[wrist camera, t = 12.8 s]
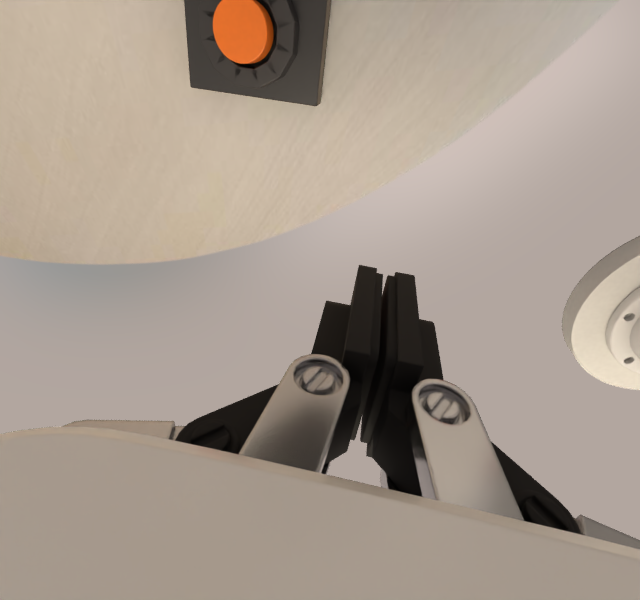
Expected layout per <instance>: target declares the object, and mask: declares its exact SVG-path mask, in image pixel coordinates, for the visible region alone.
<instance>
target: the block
mask: <svg viewBox="0 0 640 600" xmlns="http://www.w3.org/2000/svg"><path fill="white" fill-rule="evenodd" d="M221 1H222V0H184V3H185V17H186V30H187V44H188V58H189V71H190V85H191V87H192V88H198V89H205V90H212V91H218V92H225V93H232V94H238V95H245V96H252V97H258V98H265V99H272V100H278V101H285V102H292V103H298V104H305V105H312V106H317V105H318V104H320V102H321V93H322V84H323V74H324V64H325V55H326V45H327V36H328V26H329V17H330V7H331V0H256V1H258V2H259V3H260V4H262V6H263V7H264V8H265V9H266V10H267V12H268V14H269V16H270V18H271V21H272V25H273V32H274V36H273V43H272V46H271V49H270V51H269V53H268V54H267V55H266V57H265V58H264V59H262V60H261V61H259V62H257V63H251V64H240V63H236V62H233V61H232V60H230V59H229V58H227V57H226V56H225V55H224V54H223V53H222V51H221V50H220V48H219V47H218V45H217V43H216V40H215V37H214V32H213V17H214V13H215V10H216V8H217V6H218V4H219V3H220V2H221Z"/></svg>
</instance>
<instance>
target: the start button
mask: <svg viewBox="0 0 640 600" xmlns="http://www.w3.org/2000/svg"><path fill="white" fill-rule="evenodd" d="M213 32H214V37H215V40H216V43H217V45H218V47H219V48H220V50H221V51H222V53H223V54H224V55H225V56H226V57H227V58H229V59H230V60H232V61H233V62H236V63H240V64H251V63H257V62H259V61H261V60H262V59H264V58H265V57H266V55H267V54H268V53H269V51H270V49H271V46H272V43H273V36H274V32H273V25H272V21H271V18H270V16H269V14H268V12H267V10H266V9H265V8H264V7H263V6H262V4H260V3H259V2H258V1H256V0H222V1H221V2H220V3H219V4H218V6H217V8H216V10H215V13H214V17H213Z"/></svg>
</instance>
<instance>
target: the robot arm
mask: <svg viewBox="0 0 640 600" xmlns="http://www.w3.org/2000/svg"><path fill="white" fill-rule="evenodd" d="M376 272H377V268H372V267H367V266H362V265H359V268H358V272H357V277H356V281H355V286H354V291H353V296H352V300H351V305H345V304H341V303H335V302H331V301H326V303H325V307H324V310H323V314H322V318H321V321H320V325H319V328H318V332H317V336H316V339H315V343H314V346H313V350H312V353H311V354H309V355H305V356H301V357H299V358H298V359H296V360H295V361H294V362H293V363H292V364H291V365H290V366H289V368H288V369H287V371H286V373H285V375H284V376H283V378H282V380H281V381H280V383H279V384H278V385H276V386H273V387H271V388H269V389H266V390H264V391H262V392H259V393H257V394H254V395H252V396H250V397H247V398H245V399H243V400H240V401H238V402H235V403H233V404H231V405H228V406H226V407H224V408H221V409H219V410H216V411H214V412H211V413H209V414H207V415H204V416H202V417H200V418H197V419H196V420H194V421H192V422H191V423H189V424H187V426H175V422H174V421H129V420H128V421H127V420H126V421H125V420H82V421H74V422H72V423H69V424H67V425H64V426H62V427H46V428H36V429H28V430H19V431H13V432H8V433H3V434H0V600H640V540H638V539H636V538H633V537H631V536H629V535H626V534H624V533H622V532H619V531H617V530H615V529H612V528H610V527H608V526H605V525H603V524H601V523H598V522H596V521H594V520H592V519H589V518H587V517H585V516H582V515H579V516H578V517H577V518H576V519H575V518H573V517H572V515H571V514H570V512H569V511H568V510H567V509H566V508H565V507H564V506H563V505H562V504H561V503H560V502H559V501H558V500H557V499H556V498H555V497H554V496H553V495H552V494H550V493H549V492H548V491H547V490H546V489H545V488H544V487H542V486H541V485H540V484H539V483H538V482H537V481H536V480H534V479H533V478H532V477H531V476H530V475H529V474H527V473H526V472H525V471H524V470H523V469H522V468H521V467H520V466H518V465H517V464H516V463H515V462H514V461H513V460H512V459H510V458H509V457H508V456H507V455H506V454H505V453H504V452H502V451H501V450H500V449H499V448H498V447H497V446H496V445H494V444H493V443H492V442H491V441H490V439H489V436H488V434H487V431H486V429H485V427H484V424H483V422H482V420H481V417H480V415H479V413H478V410H477V408H476V406H475V404H474V402H473V401H472V399H471V398H470V397H469V396H468V395H467V394H466V393H465V392H464V391H463V390H462V389H460V388H459V387H457V386H456V385H454V384H452V383H449V382H447V381H444V380H443V374H442V368H441V362H440V356H439V350H438V344H437V338H436V332H435V326H434V323H433V322H431V321H426V320H421V319H419V314H418V304H417V296H416V286H415V277H414V276H413V275H409V274H404V273H398V272H396V273H395V276H387V280H386V283H385V287H384V291H383V294H382V279H383V274H379V273H376ZM606 343H607V346H608V349H609V351H610V352H611V354H612V355H613V356H614V358H615V359H616V360H617V361H618V362H619V363H620V364H621V365H622V366H624V367H625V368H627V369H629V370H630V371H633V372H636V373H639V374H640V287H639V288H638V289H636V290H635V291H633V292H632V293H631V294H630V295H629V296H628V297H627V298H626V299H624V300H623V301H622V302H621V304H620V305H619V306H618V307H617V309H616V310H615V311H614V312H613V314H612V316H611V318H610V320H609V322H608V325H607V329H606ZM361 417H362V425H361V438H360V440H361V442H364V443H367V456H368V457H372V458H373V459H374V460H375V461H376V462H377V463H378V465H379V466H380V467H381V468H382V470H381V474H380V482H381V487H378V486H373V485H369V484H365V483H360V482H356V481H352V480H347V479H343V478H339V477H335V476H330V475H327V472H328V469H329V466H330V462H331V461H332V460H333V459H335V458H337V457H338V456H340V455H342V454H343V453H345V452H346V451H347V449H348V446H349V442H350V439H351V440H354V439H355V437H356V434H357V430H358V427H359V424H360V420H361Z"/></svg>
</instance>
